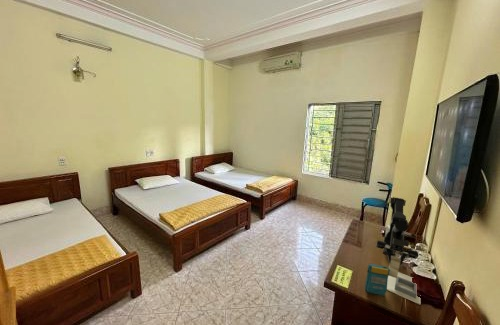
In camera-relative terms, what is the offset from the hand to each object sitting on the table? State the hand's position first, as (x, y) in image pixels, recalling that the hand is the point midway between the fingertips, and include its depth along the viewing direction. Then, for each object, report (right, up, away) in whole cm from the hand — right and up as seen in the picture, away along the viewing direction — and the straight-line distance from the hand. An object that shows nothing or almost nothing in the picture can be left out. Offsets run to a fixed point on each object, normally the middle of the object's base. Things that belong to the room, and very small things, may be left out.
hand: (394, 265), depth 112 cm
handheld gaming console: (-12, -14, -1) cm, 18 cm away
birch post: (0, -6, +3) cm, 7 cm away
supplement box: (+28, -5, +44) cm, 53 cm away
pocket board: (+7, -13, +4) cm, 16 cm away
